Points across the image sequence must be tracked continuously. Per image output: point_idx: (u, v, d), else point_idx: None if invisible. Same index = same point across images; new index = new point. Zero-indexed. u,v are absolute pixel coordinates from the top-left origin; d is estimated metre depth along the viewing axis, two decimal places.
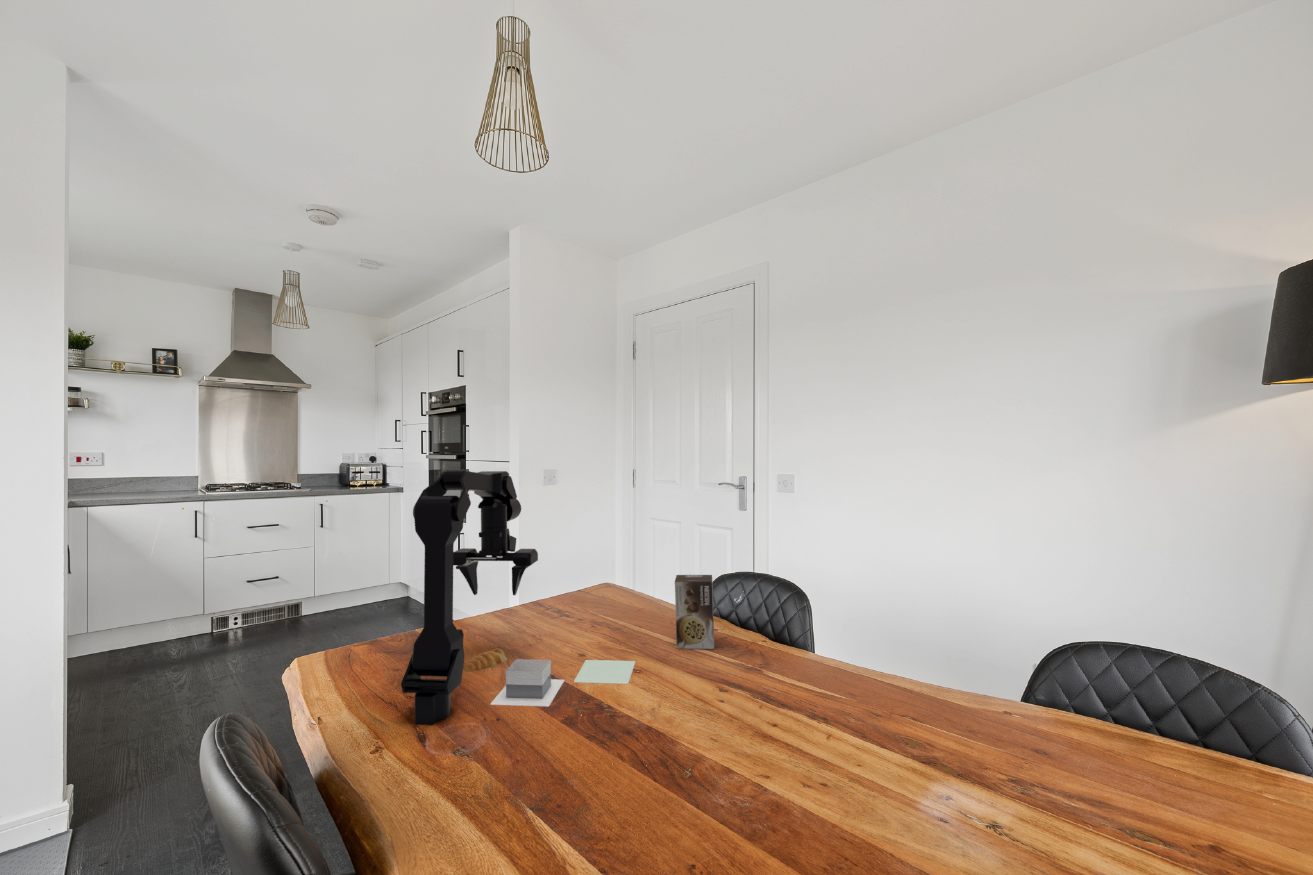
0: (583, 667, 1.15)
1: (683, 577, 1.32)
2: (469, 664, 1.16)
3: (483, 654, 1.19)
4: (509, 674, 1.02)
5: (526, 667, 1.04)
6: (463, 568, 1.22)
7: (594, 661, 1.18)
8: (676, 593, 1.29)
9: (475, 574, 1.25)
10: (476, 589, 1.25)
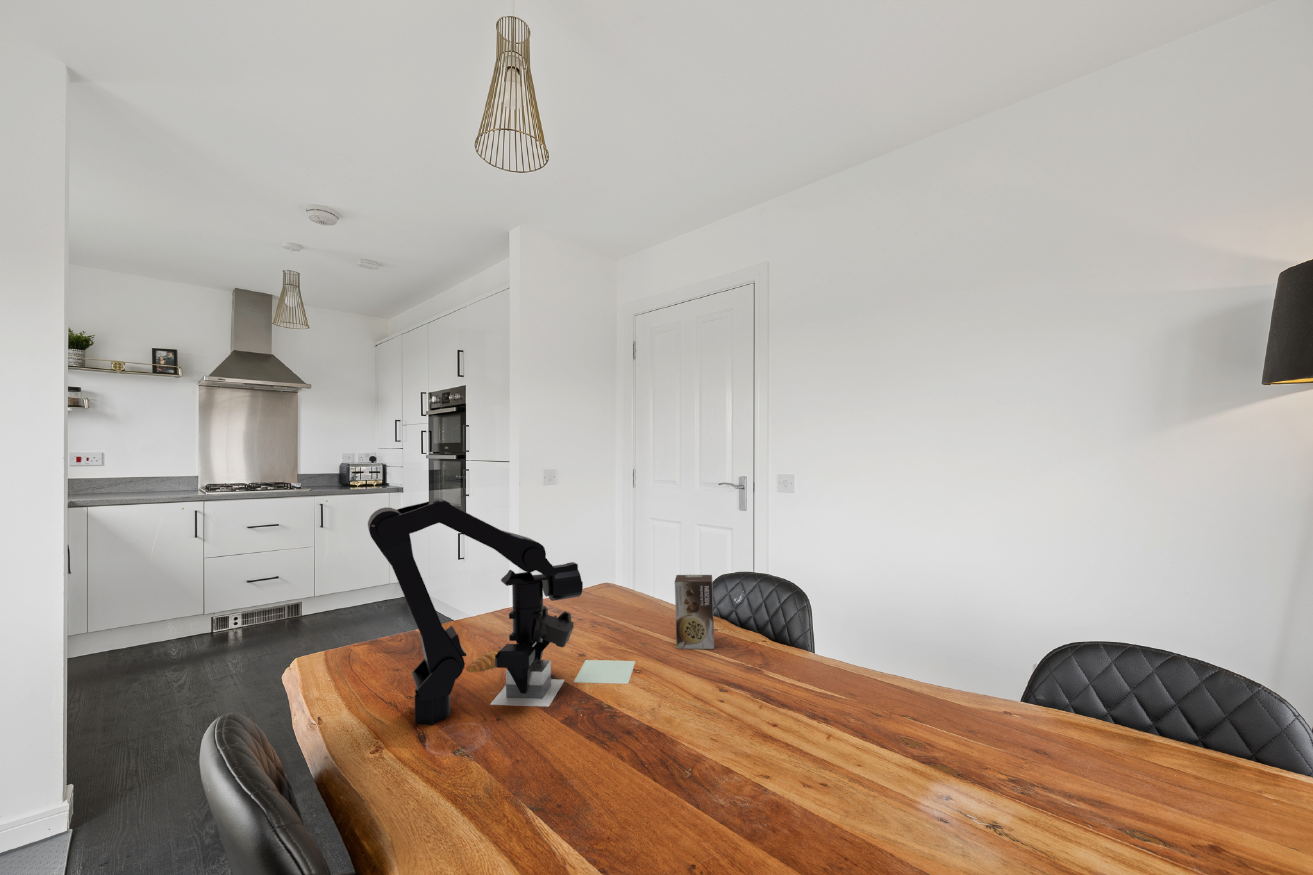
0: (583, 667, 1.15)
1: (683, 577, 1.32)
2: (473, 665, 1.15)
3: (486, 655, 1.18)
4: (509, 674, 1.02)
5: None
6: None
7: (594, 661, 1.18)
8: (676, 593, 1.29)
9: (536, 656, 1.08)
10: None
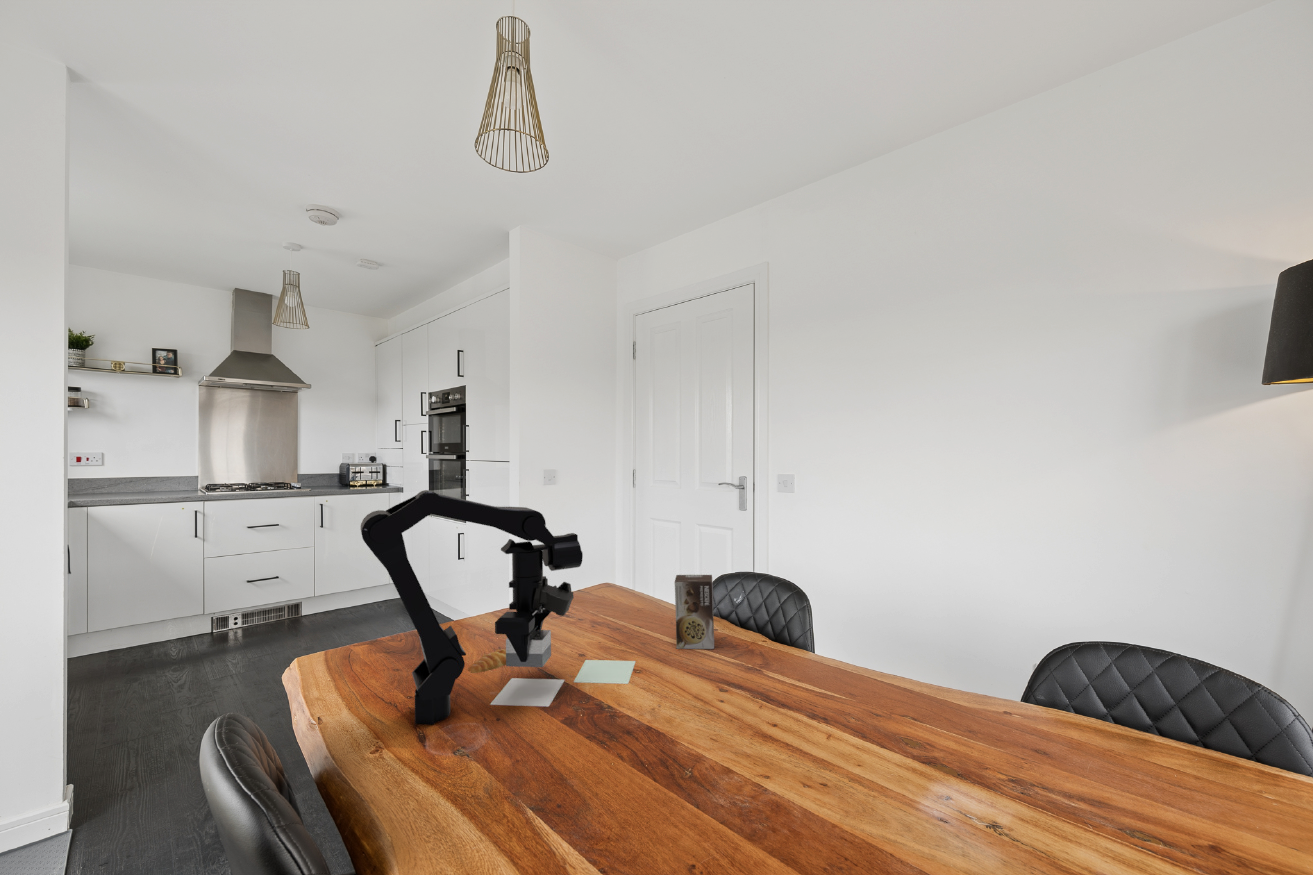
0: (583, 667, 1.15)
1: (683, 577, 1.32)
2: (475, 665, 1.15)
3: (488, 655, 1.18)
4: (509, 643, 1.02)
5: None
6: None
7: (594, 661, 1.18)
8: (676, 593, 1.29)
9: (536, 626, 1.08)
10: None
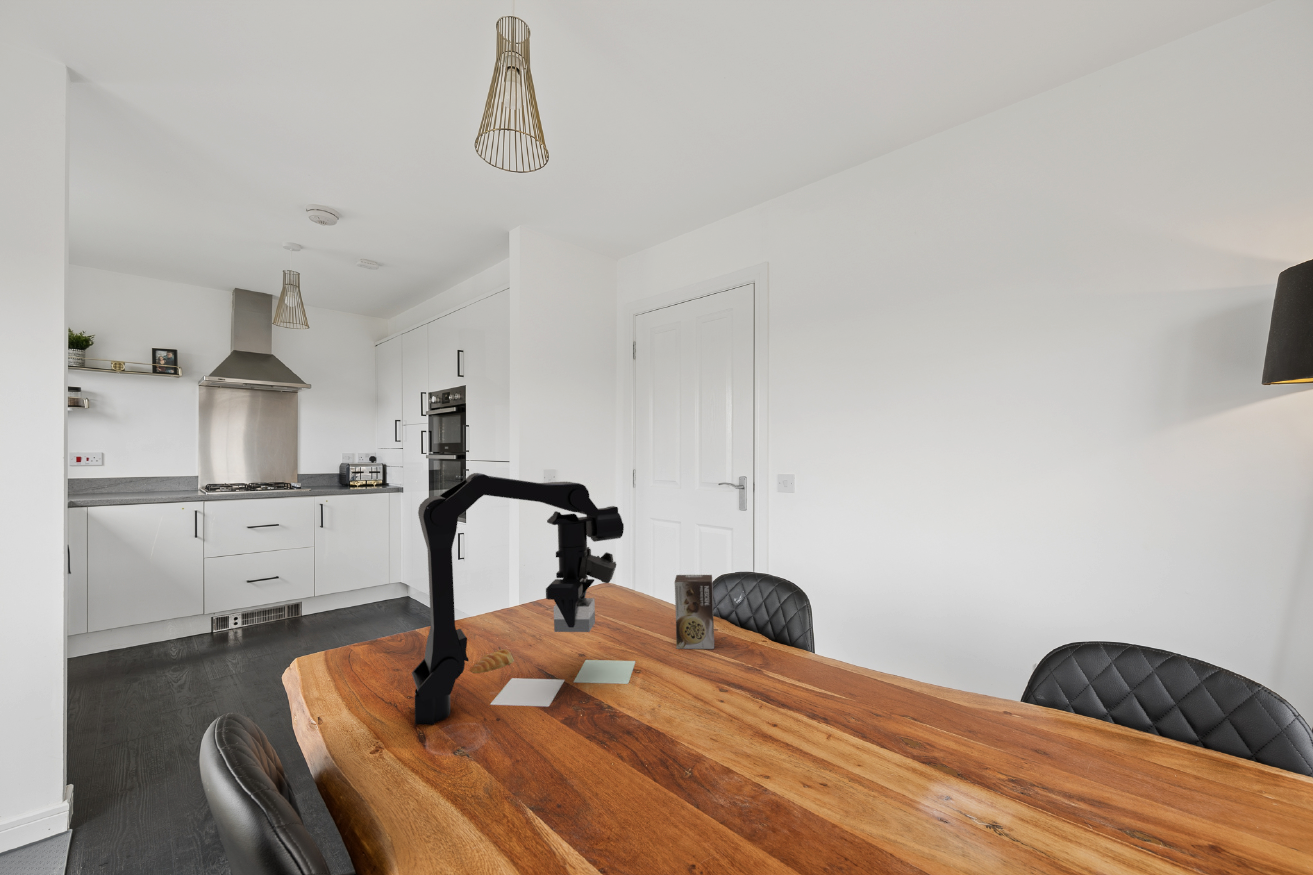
0: (583, 667, 1.15)
1: (683, 577, 1.32)
2: (477, 666, 1.15)
3: (490, 655, 1.18)
4: (557, 609, 1.07)
5: None
6: None
7: (594, 661, 1.18)
8: (676, 593, 1.29)
9: None
10: None
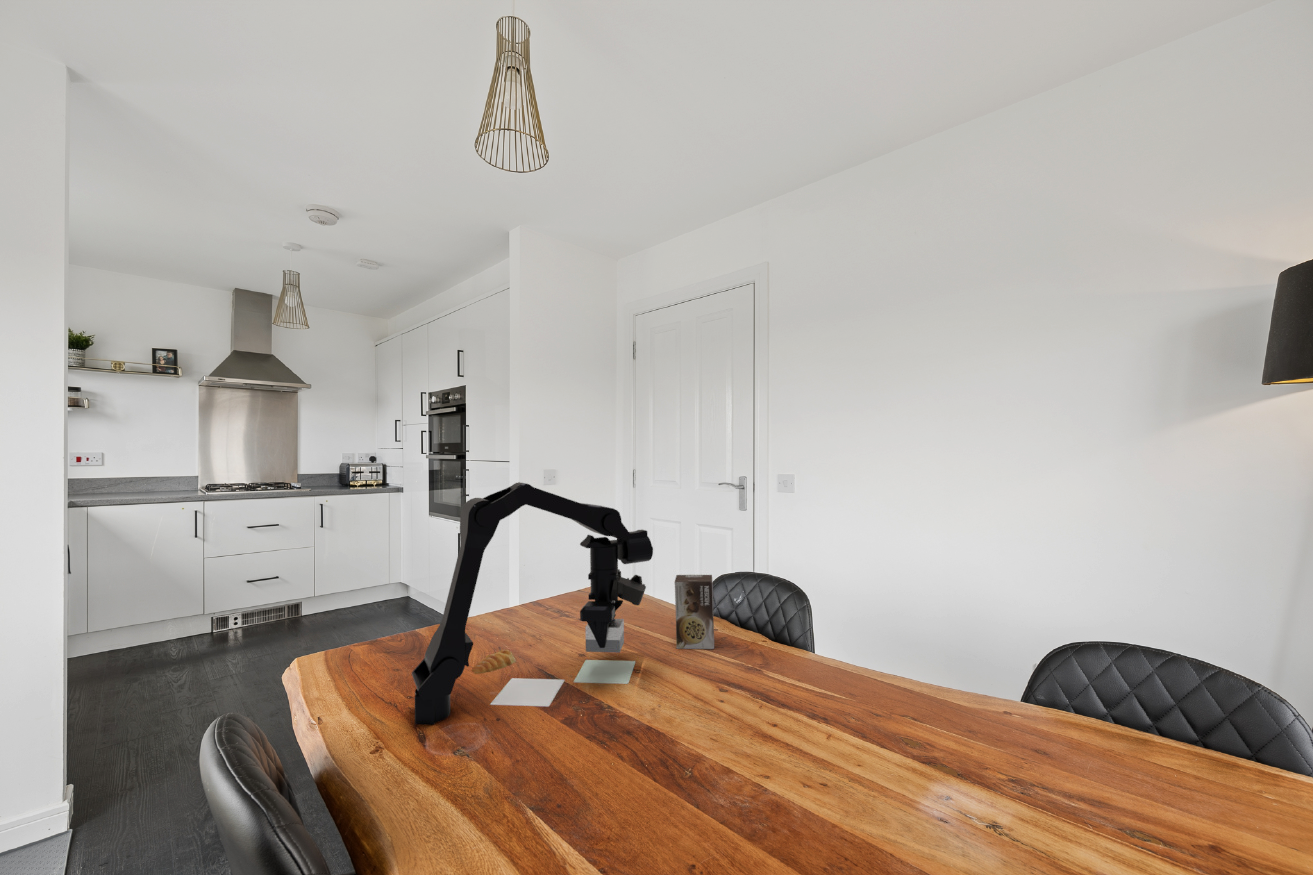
0: (583, 667, 1.15)
1: (683, 577, 1.32)
2: (479, 666, 1.15)
3: (492, 656, 1.18)
4: (588, 630, 1.11)
5: None
6: None
7: (594, 661, 1.18)
8: (676, 593, 1.29)
9: None
10: None
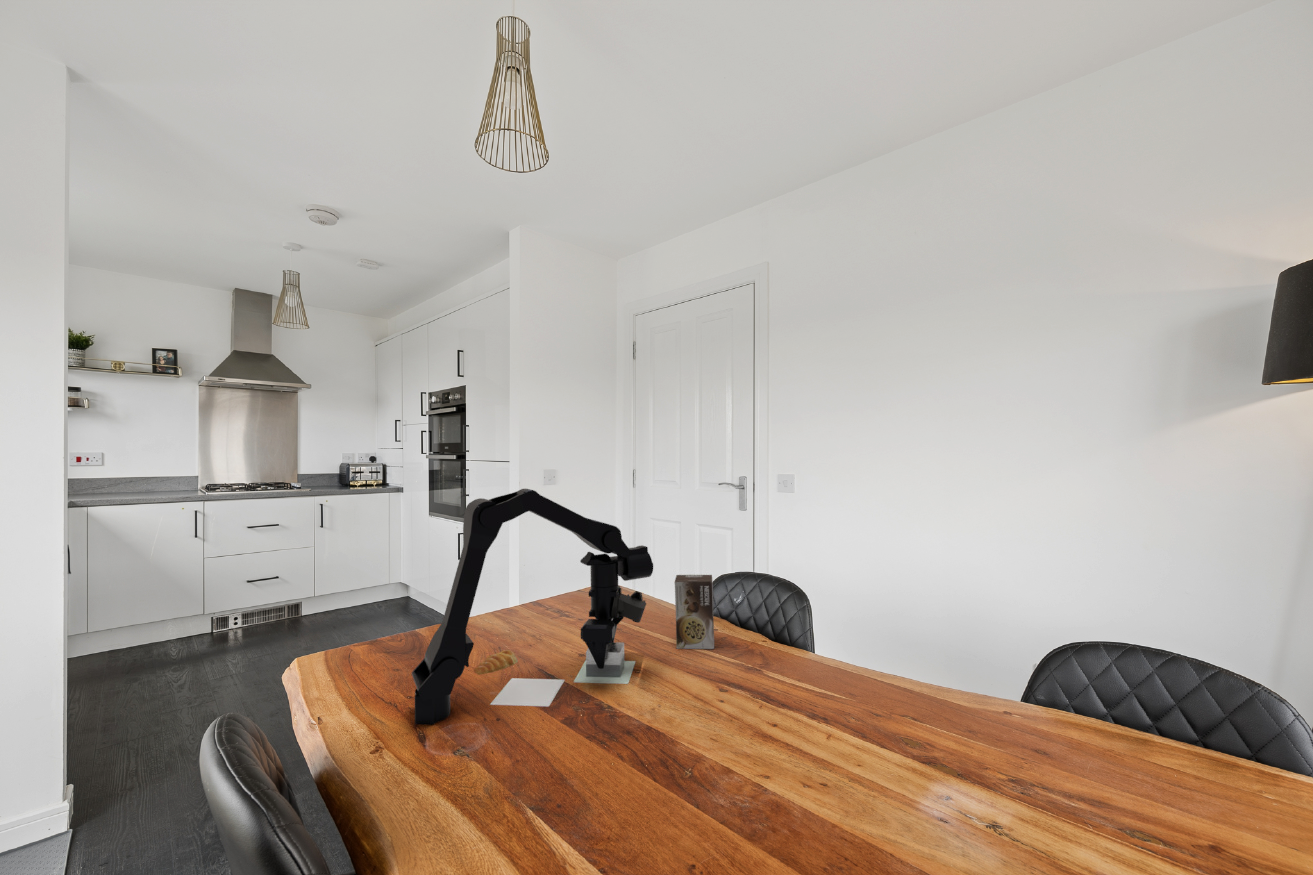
0: (583, 667, 1.15)
1: (683, 577, 1.32)
2: (481, 667, 1.14)
3: (494, 656, 1.17)
4: (589, 655, 1.11)
5: None
6: None
7: None
8: (676, 593, 1.29)
9: None
10: None
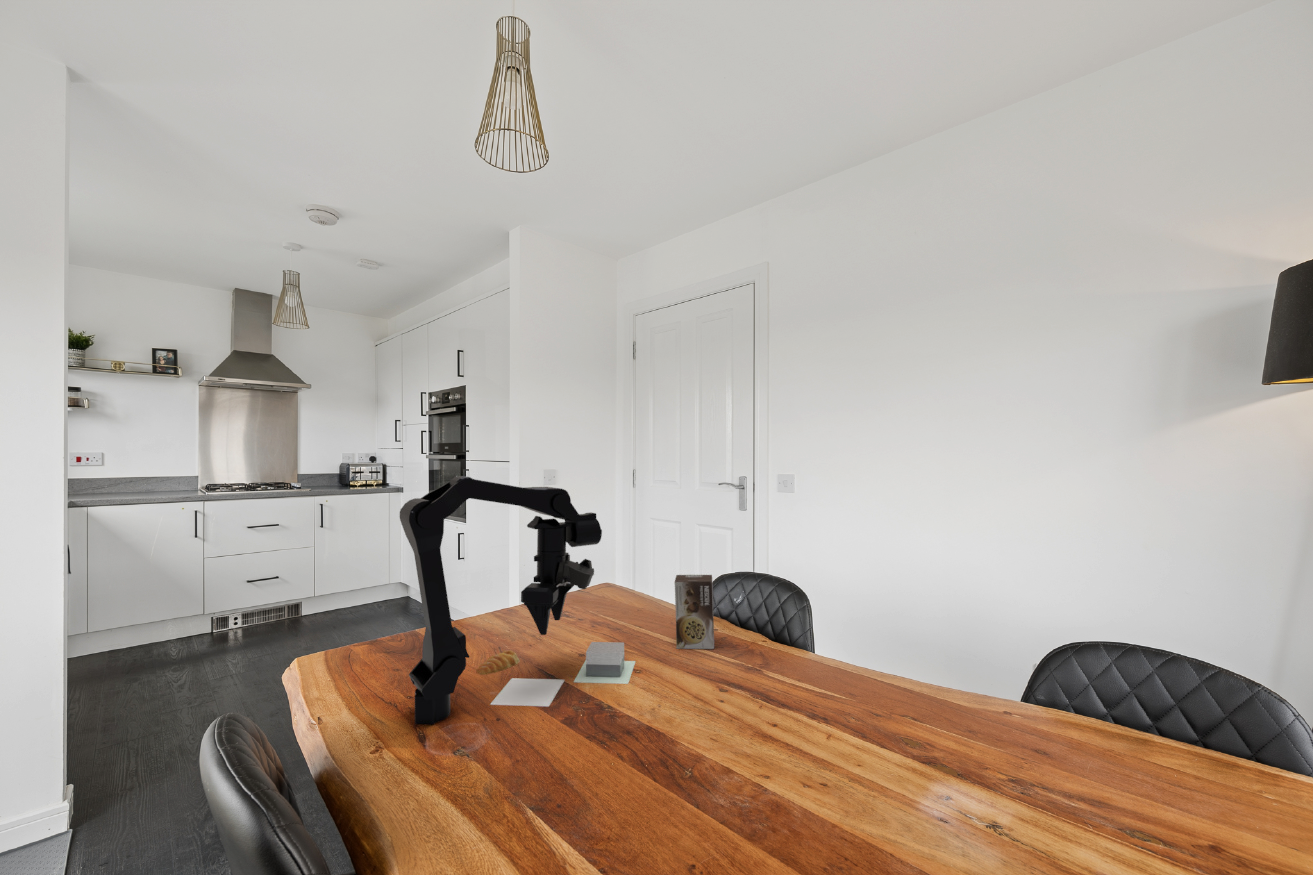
0: (583, 667, 1.15)
1: (683, 577, 1.32)
2: (484, 667, 1.14)
3: (496, 656, 1.17)
4: (589, 655, 1.11)
5: (603, 648, 1.12)
6: None
7: None
8: (676, 593, 1.29)
9: (560, 598, 1.15)
10: (556, 614, 1.15)
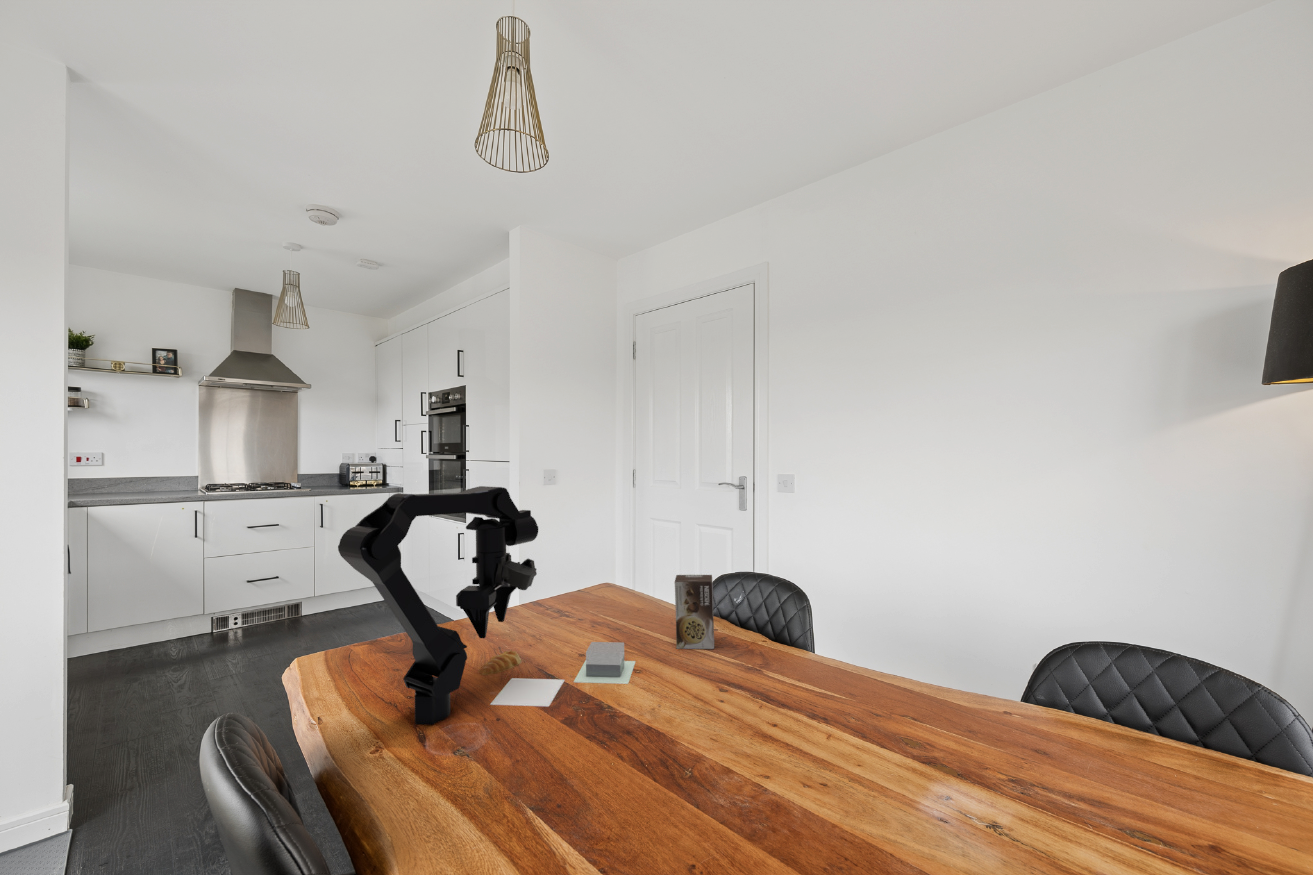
0: (583, 667, 1.15)
1: (683, 577, 1.32)
2: (486, 668, 1.14)
3: (498, 657, 1.17)
4: (589, 655, 1.11)
5: (603, 648, 1.12)
6: None
7: None
8: (676, 593, 1.29)
9: (503, 599, 1.12)
10: (500, 616, 1.12)
